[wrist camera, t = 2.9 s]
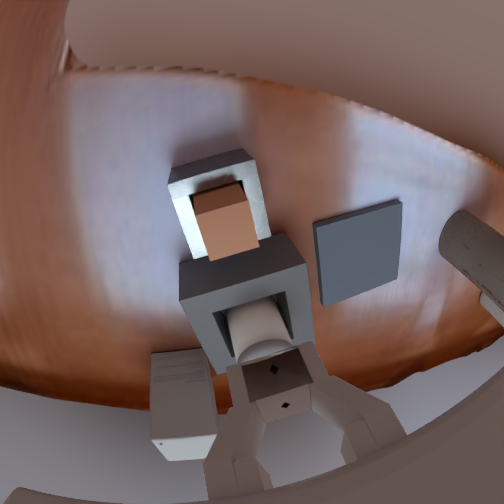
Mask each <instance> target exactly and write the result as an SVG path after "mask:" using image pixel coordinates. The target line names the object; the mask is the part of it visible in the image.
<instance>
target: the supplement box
mask: <svg viewBox="0 0 504 504" xmlns="http://www.w3.org/2000/svg"><path fill="white" fill-rule="evenodd" d="M219 429H220V424H219V420H218V414H217V409H216V402H215V396H214V389H213V383H212V378H211V373H210V369H209V364H208V359H207V355H206V353H205V351H204V349H203V348H199V349H192V350H183V351H174V352H164V353H153V354H151V369H150V432H151V433H150V436H151V440H152V442H153V443H154V444H155V445H156V447H157V448H158V449H159V450H160V452H161V453H162V454H163V455H164V456H165V458H166V459H167V460H168V461H178V460H191V459H201V458H206V456H207V454H208V452H209V450H210V448H211V446H212V444H213V442H214V440H215V438H216V436H217V434H218V431H219Z"/></svg>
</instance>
